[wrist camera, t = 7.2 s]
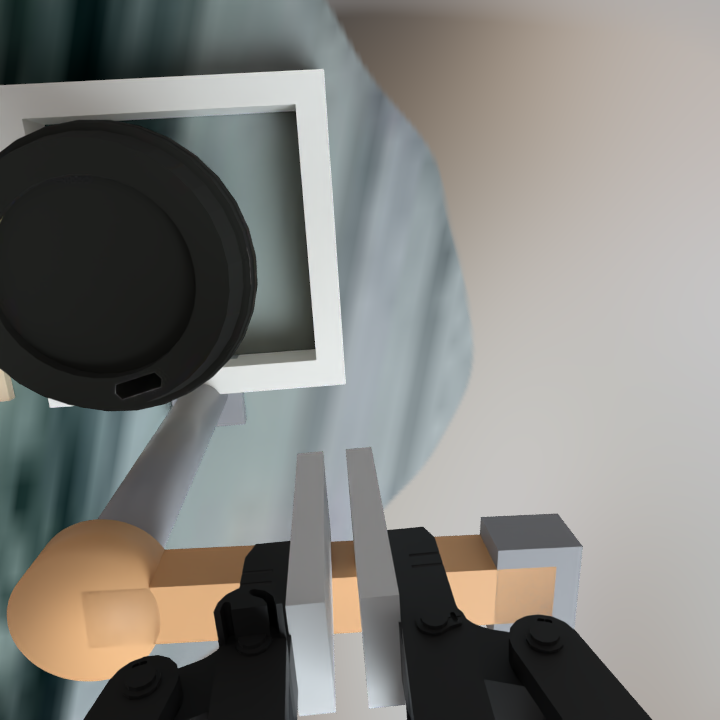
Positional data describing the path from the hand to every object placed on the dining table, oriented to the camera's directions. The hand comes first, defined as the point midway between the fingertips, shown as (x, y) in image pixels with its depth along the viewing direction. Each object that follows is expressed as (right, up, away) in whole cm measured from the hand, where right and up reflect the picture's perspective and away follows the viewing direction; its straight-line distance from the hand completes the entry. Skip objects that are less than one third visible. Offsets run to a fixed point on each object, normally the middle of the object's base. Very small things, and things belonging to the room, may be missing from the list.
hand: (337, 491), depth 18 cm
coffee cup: (-9, +10, +15) cm, 20 cm away
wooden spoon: (-1, -2, 0) cm, 3 cm away
